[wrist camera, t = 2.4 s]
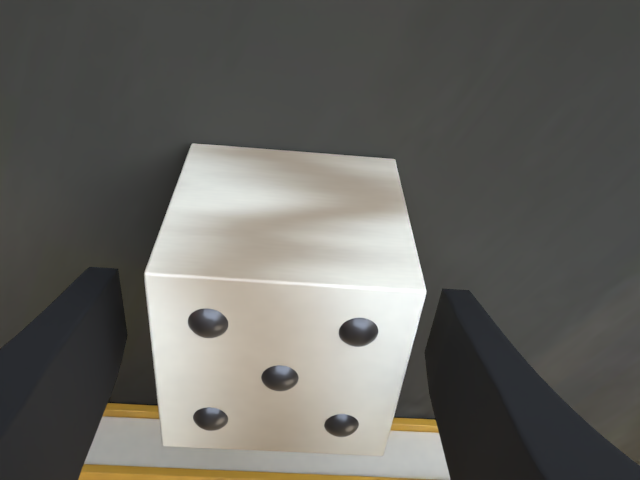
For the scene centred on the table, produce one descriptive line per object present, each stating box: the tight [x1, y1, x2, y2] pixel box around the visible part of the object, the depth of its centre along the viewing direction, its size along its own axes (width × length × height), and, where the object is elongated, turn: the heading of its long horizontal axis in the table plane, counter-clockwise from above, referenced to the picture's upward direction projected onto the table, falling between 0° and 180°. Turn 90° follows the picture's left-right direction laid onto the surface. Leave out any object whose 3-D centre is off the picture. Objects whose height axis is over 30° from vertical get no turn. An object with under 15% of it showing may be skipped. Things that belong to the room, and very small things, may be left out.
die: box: [144, 143, 427, 456], centre depth 14 cm, size 5×5×5 cm
